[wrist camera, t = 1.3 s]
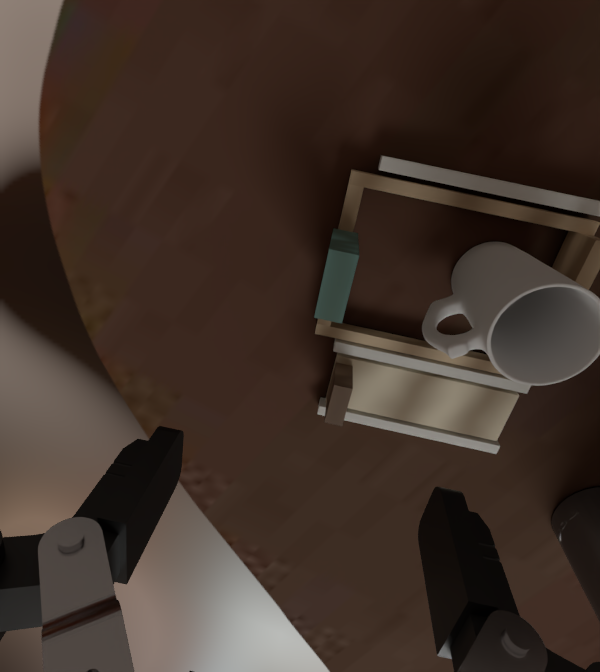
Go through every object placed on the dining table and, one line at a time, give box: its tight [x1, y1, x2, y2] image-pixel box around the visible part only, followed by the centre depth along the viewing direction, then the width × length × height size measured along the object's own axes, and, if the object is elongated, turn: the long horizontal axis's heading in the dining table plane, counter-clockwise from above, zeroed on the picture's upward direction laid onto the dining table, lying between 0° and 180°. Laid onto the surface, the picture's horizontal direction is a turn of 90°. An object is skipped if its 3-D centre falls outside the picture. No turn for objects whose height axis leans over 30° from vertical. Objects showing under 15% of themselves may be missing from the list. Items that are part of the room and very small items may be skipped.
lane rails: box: [317, 155, 600, 454], centre depth 37 cm, size 18×24×2 cm
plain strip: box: [324, 352, 519, 441], centre depth 39 cm, size 17×5×5 cm, turn 80°
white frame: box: [314, 169, 600, 375], centre depth 32 cm, size 19×14×8 cm
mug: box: [422, 242, 600, 385], centre depth 31 cm, size 10×7×12 cm, turn 111°
